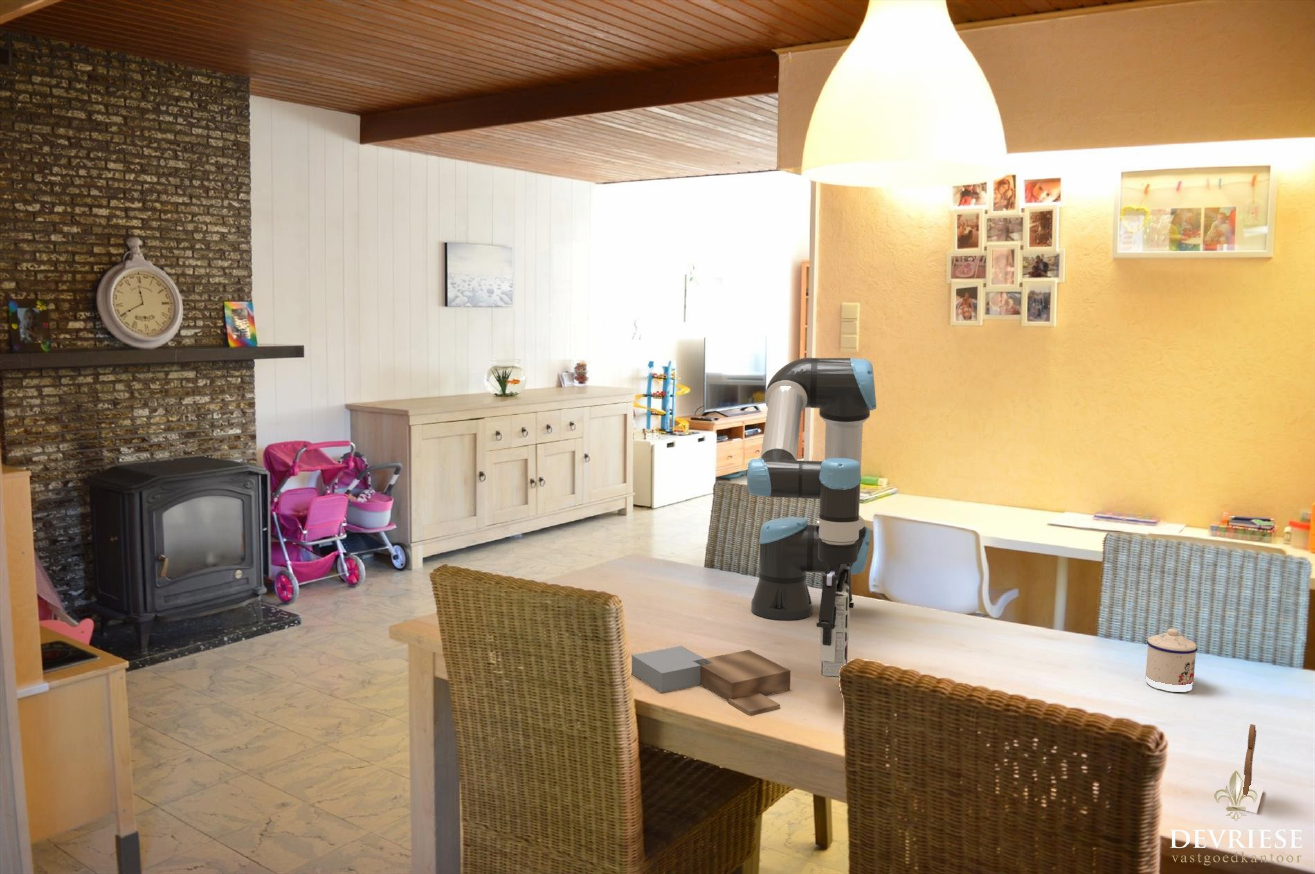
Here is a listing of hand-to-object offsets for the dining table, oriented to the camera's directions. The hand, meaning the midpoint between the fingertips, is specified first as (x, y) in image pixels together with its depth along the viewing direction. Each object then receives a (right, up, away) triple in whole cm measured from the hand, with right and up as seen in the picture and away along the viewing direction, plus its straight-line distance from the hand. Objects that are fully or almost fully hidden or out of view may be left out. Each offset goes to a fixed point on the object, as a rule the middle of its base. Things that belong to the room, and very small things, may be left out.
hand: (834, 650), depth 195 cm
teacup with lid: (+70, -9, +10) cm, 71 cm away
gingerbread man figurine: (+57, -15, -39) cm, 71 cm away
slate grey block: (-31, -8, +10) cm, 34 cm away
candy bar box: (0, -4, 0) cm, 4 cm away
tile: (-16, -10, -4) cm, 19 cm away
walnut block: (-18, -8, +7) cm, 21 cm away
